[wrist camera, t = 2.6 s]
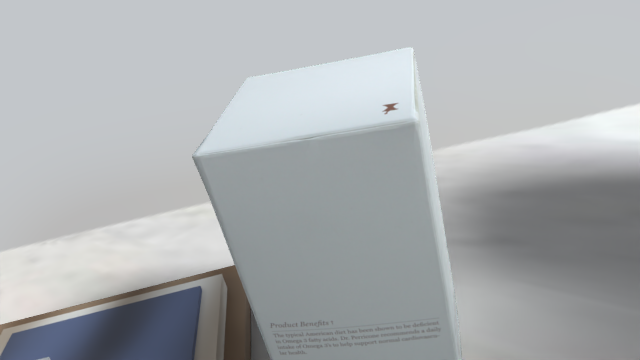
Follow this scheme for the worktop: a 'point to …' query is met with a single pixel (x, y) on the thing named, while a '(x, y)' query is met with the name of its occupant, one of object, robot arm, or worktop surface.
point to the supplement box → (335, 211)
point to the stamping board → (143, 324)
